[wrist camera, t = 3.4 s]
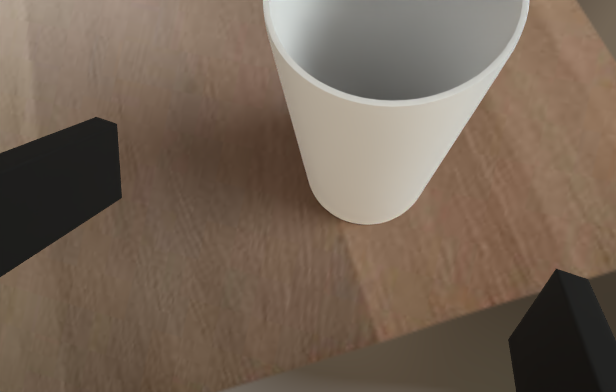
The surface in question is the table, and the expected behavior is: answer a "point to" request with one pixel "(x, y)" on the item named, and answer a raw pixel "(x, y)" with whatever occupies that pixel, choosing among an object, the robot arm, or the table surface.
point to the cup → (384, 90)
